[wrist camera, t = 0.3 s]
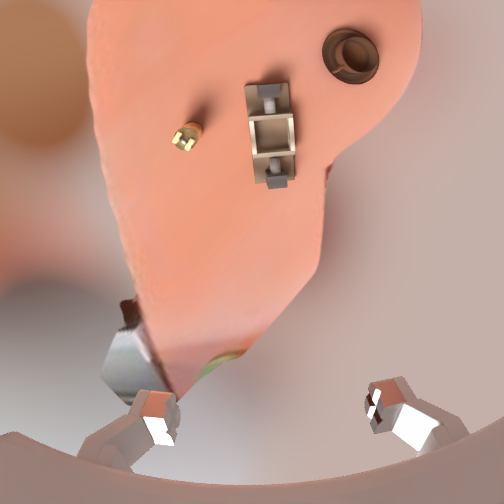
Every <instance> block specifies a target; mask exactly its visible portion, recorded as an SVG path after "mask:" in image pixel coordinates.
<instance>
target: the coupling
mask: <svg viewBox="0 0 504 504" xmlns="http://www.w3.org/2000/svg"><path fill="white" fill-rule="evenodd" d="M201 135H202V128H201V126H200V125H199V124H197V123H195V122H190V123H187V124H186V125H184V126H183V127H182V128H181V129H179V130H178V131H177V132H176V133H175V135H174V139H173V141H172V142H173V143H175V145H176V146H177V147H178V148H179V149H181V150H188V151H189V150H190V149H191V148H193V147H194V146H195V144H196V143H197V141H198V140H199V139H200V137H201Z"/></svg>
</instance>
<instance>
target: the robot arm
mask: <svg viewBox="0 0 504 504" xmlns="http://www.w3.org/2000/svg"><path fill="white" fill-rule="evenodd" d="M368 390H369V394H368V395H367V396H366V399H365V411H366V414H367V416H368V417H370V418H371V422H370V424H371V427H372V429H373V432H374V434H378V433H382V432H387V431H391V430H392V431H393V432H394V433H395V434H397V435H398V436H399V437H400V438H402V439H403V440H404V441H406V442H407V443H408V444H410V445H411V446H412V447H414V448H415V449H416V450H418V451H419V452H418V454H417V455H416V457H414V458H412V459H409V460H405V461H402V462H399V463H396V464H392V465H389V466H385V467H381V468H378V469H374V470H370V471H365V472H361V473H357V474H352V475H347V476H342V477H336V478H330V479H324V480H316V481H308V482H299V483H288V484H272V485H220V484H204V483H193V482H184V481H175V480H168V479H162V478H156V477H150V476H145V475H140V474H135V473H134V472H133V471H132V469H131V468H130V466H131V465H133V463H135V462H136V461H137V460H138V459H139V458H140V457H141V456H143V455H144V454H145V453H146V452H147V451H148V450H149V449H150V448H151V447H152V446H153V445H155V443H158V444H167V445H174V442H175V439H176V435H177V433H176V431H175V429H176V428H177V427H178V426H179V423H180V409H179V406H178V405H177V404H175V402H176V396H175V394H174V393H168V392H159V391H149V390H140V391H138V393H137V395H136V398H135V400H134V402H133V404H132V406H131V408H130V410H129V413H128V415H126V414H125V415H123V416H121V417H119V418H118V419H116V420H115V421H113V422H111V423H110V424H108V425H106V426H105V427H103V428H102V429H100V430H98V431H97V432H95V433H93V434H91V435H90V436H88V437H86V439H85V441H84V443H83V445H82V447H81V449H80V451H79V452H78V455H77V457H75V456H72V455H70V454H67V453H64V452H62V451H59V450H56V449H54V448H51V447H49V446H47V445H44V444H42V443H40V442H37V441H35V440H33V439H31V438H29V437H27V436H25V435H23V434H21V433H18V432H10V433H6V434H4V435H1V436H0V504H504V417H502V418H500V419H499V420H497V421H495V422H493V423H492V424H490V425H488V426H486V427H484V428H482V429H480V430H478V431H476V432H475V433H472V434H470V433H469V432H468V430H467V429H466V427H465V426H464V424H463V422H462V421H461V419H460V418H459V417H458V416H455V415H453V414H451V413H449V412H447V411H445V410H443V409H441V408H439V407H437V406H434V405H432V404H430V403H428V402H426V401H424V400H422V399H417V398H416V396H415V394H414V393H413V391H412V390H411V388H410V386H409V385H408V383H407V382H406V380H405V378H404V377H402V376H400V377H396V378H392V379H386V380H381V381H377V382H372V383H370V385H369V387H368Z"/></svg>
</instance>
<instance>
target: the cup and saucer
mask: <svg viewBox="0 0 504 504" xmlns="http://www.w3.org/2000/svg"><path fill="white" fill-rule="evenodd" d="M322 56H323V60H324V63H325V65H326V67H327V69H328V70H329V72H330V73H331V74H332V75H333V76H335V77H336V78H337V79H339V80H340V81H343V82H345V83H348V84H362V83H365V82H367V81H369V80H370V79H372V78H373V77H374V75H375V74H376V72H377V70H378V67H379V56H378V52H377V49H376V47H375V46H374V44H373V43H372V41H371V40H370V39H369V38H368V37H367V36H365V35H364V34H362V33H360V32H358V31H356V30H352V29H341V30H337V31H335V32H333V33H331V34H330V35H329V36H328V37H327V38H326V40H325V42H324V44H323V49H322Z"/></svg>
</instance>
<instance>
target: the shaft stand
mask: <svg viewBox="0 0 504 504" xmlns="http://www.w3.org/2000/svg"><path fill="white" fill-rule="evenodd" d="M245 94H246V103H247V112H248V121H249V130H250V139H251V148H252V157H253V166H254V176H255V184H258V183H267V186H268V189H275V188H285V187H287V181H288V180H295V178H294V159H293V155H295V139H294V124H293V114H292V113H290V103H289V91H288V83H274V84H260V85H249V86H245Z"/></svg>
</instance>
